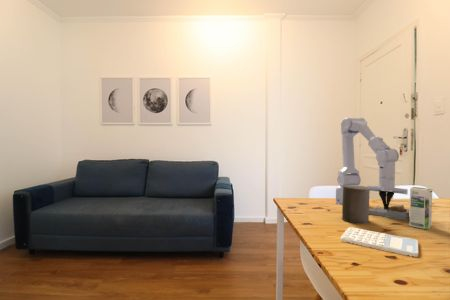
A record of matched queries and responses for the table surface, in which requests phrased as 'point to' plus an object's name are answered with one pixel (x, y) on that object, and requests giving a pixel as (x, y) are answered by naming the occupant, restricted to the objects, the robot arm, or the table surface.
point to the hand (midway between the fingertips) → (386, 209)
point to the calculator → (381, 241)
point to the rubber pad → (380, 208)
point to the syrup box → (420, 207)
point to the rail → (391, 213)
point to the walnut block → (398, 208)
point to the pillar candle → (355, 204)
